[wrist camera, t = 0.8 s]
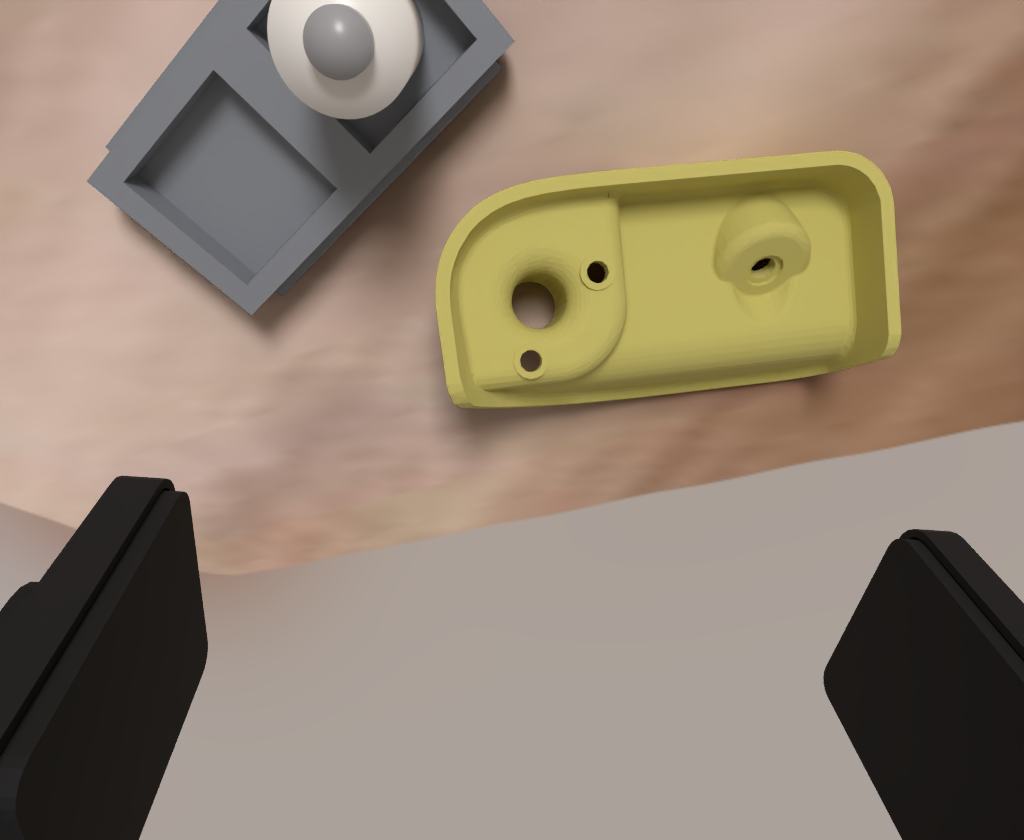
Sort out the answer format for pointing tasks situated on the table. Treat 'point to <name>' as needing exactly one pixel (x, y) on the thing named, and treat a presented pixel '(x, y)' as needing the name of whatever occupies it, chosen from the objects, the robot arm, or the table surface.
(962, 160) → the table surface
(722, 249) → the plastic component
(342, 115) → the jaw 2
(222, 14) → the housing
